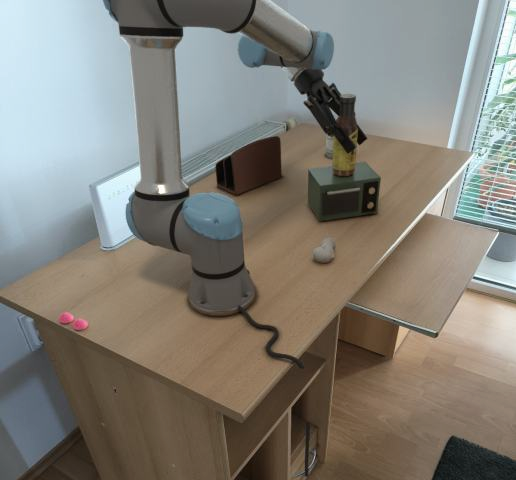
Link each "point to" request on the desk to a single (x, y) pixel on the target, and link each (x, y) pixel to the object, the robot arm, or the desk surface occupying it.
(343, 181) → the toaster oven
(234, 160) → the letter holder
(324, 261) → the pale two-lobed sculpture
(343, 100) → the sauce bottle
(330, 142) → the camera lens
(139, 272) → the desk surface
